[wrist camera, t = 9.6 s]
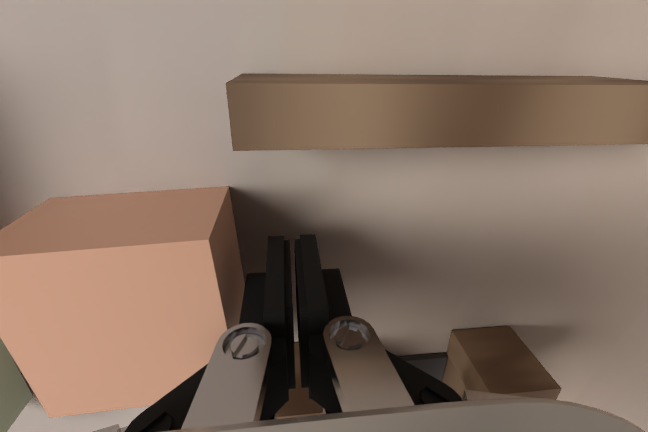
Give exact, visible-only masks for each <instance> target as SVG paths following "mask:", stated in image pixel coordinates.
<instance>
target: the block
mask: <svg viewBox="0 0 648 432" xmlns="http://www.w3.org/2000/svg"><path fill="white" fill-rule="evenodd" d="M244 288H245V283H244V277H243V271H242V265H241V258H240V252H239V246H238V240H237V234H236V228H235V222H234V215H233V209H232V203H231V197H230V191H229V186H226V187H210V188H195V189H180V190H165V191H150V192H134V193H119V194H104V195H89V196H74V197H59V198H49V199H48V200H46V201H45V202H43V203H42V204H40V205H38V206H37V207H35V208H34V209H32V210H31V211H29V212H27V213H26V214H24V215H23V216H21V217H20V218H18V219H17V220H15V221H13V222H12V223H10V224H9V225H7V226H6V227H4V228H2V229H1V230H0V338H1V339H2V341H3V343H4V344H5V346H6V347H7V349H8V351H9V352H10V354H11V356H12V357H13V359H14V361H15V362H16V364H17V365H18V367H19V369H20V370H21V372H22V374H23V375H24V377H25V379H26V380H27V382H28V383H29V385H30V387H31V388H32V390H33V392H34V393H35V395H36V396H37V398H38V400H39V401H40V403H41V405H42V406H43V408H44V410H45V411H46V413H47V414H48V416H49V418H53V417H61V416H69V415H77V414H85V413H94V412H102V411H110V410H118V409H126V408H134V407H142V406H151V405H153V404H154V403H155V402H157V401H158V400H159V399H161V398H162V397H164V396H165V395H166V394H168V393H169V392H170V391H172V390H173V389H174V388H176V387H177V386H178V385H180V384H181V383H182V382H184V381H185V380H186V379H188V378H189V377H190V376H192V375H193V374H194V373H196V372H197V371H198V370H200V369H201V368H202V367H204V366H205V365H207V364H208V363H209V360H210V358H211V356H212V353H213V351H214V348H215V346H216V344H217V341H218V340H219V338H220V336H221V335H222V334H223V333H224V332H225V331H226V330H228V329H230V328H231V327H233V326H236V325H239V320H240V313H241V307H242V301H243V294H244Z"/></svg>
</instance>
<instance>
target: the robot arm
mask: <svg viewBox="0 0 648 432" xmlns="http://www.w3.org/2000/svg"><path fill="white" fill-rule="evenodd" d="M294 242H295V274H296V304H297V321H298V338H299V355H300V371H301V387H302V388H307V387H308V390H309V399H312V400H314V401H315V402H316V403H318V404H319V405H320V406H321V407H322V412H323V414H322V415H313V416H303V417H293V418H283V419H277V412H278V411H279V410H280V409H281V407H282V406H283V405H284V404H285V403H286V402H287V401H289V389H296V381H295V355H294V328H293V303H292V281H291V258H290V240H284V236H271V237H268V250H267V264H266V273H250V274H247V276H246V281H245V288H244V294H243V301H242V307H241V313H240V320H239V325H236V326H233V327H231V328H230V329H228V330H226V331H225V332H224V333H223V334H222V335H221V336H220V338H219V340H218V341H217V344H216V346H215V348H214V351H213V353H212V356H211V358H210V360H209V363H208V364H207V365H205V366H204V367H202V368H201V369H200V370H198V371H197V372H196V373H194V374H193V375H192V376H190V377H189V378H188V379H186V380H185V381H184V382H182V383H181V384H180V385H178V386H177V387H176V388H174V389H173V390H172V391H170V392H169V393H168V394H166V395H165V396H164V397H162V398H161V399H159V400H158V401H157V402H155V403H154V404H153V405H151V406H150V407H149V408H147V409H146V410H145V411H143V412H142V413H141V414H140V415H138V416H137V417H136V418H135V419H134V420H133V421H132V422H131V423H130V425H129V426H127V427H123V428H120V427H119V424H117V425H113V426H110V427H107V428H103V429H100V430H97V431H93V432H645V431H643V430H642V429H641V428H639V427H638V426H636V425H634V424H633V423H631V422H629V421H627V420H625V419H623V418H621V417H619V416H616V415H614V414H611V413H609V412H606V411H603V410H600V409H597V408H593V407H589V406H585V405H581V404H577V403H573V402H567V401H560V400H553V399H545V398H530V397H522V396H513V395H505V394H497V393H488V392H480V391H472V390H464V393H463V394H459V393H456V391H455V390H454V389H452V388H451V387H449V386H448V385H447V384H445V383H443V382H442V381H440V380H438V379H436V378H434V377H433V376H431V375H429V374H427V373H426V372H424V371H422V370H420V369H419V368H417V367H415V366H413V365H411V364H410V363H408V362H406V361H404V360H403V359H401V358H399V357H397V356H396V355H394V354H392V353H390V352H389V351H387V350H385V349H384V347H383V346H382V344H381V342H380V340H379V338H378V336H377V334H376V333H375V331H374V329H373V328H372V326H371V325H370V324H369V323H368V322H366V321H365V320H363V319H361V318H358V317H354V316H352V315H351V312H350V308H349V304H348V300H347V297H346V293H345V289H344V285H343V282H342V278H341V274H340V271H339V269H321V263H320V258H319V253H318V247H317V242H316V236H315V235H300V239H294Z"/></svg>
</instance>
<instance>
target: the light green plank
mask: <svg viewBox="0 0 648 432" xmlns="http://www.w3.org/2000/svg"><path fill="white" fill-rule="evenodd" d="M32 396H33V395H32V393H31V391H30V389H29V387H28V386H27V384H26V382H25V380H24V378H23V376H22V375H21V373H20V371H19V369H18V367H17V365H16V364H15V362H14V360H13V358H12V356H11V354H10V353H9V351H8V349H7V347H6V346H5V344H4V343H3V341H2V339H1V338H0V432H7V431H8V429H9V428H10V427H11V425H12V424H13V423H14V421H15V420H16V418H17V417H18V416H19V414H20V413H21V411H22V410H23V409H24V407H25V406H26V405H27V403H28V402H29V400H30V399H31V398H32Z"/></svg>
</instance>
